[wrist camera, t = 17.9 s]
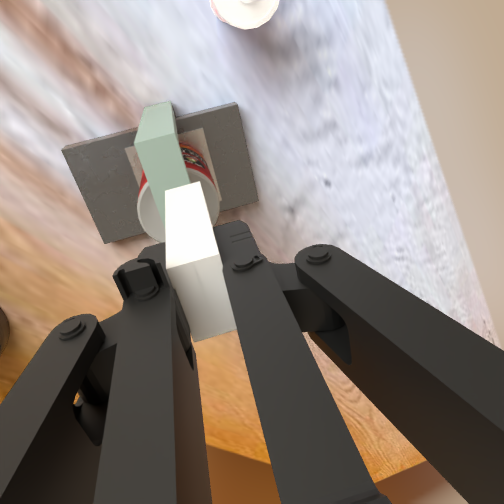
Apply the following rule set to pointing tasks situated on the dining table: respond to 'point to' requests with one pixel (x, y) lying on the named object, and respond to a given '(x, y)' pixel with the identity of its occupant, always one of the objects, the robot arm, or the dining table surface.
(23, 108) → the dining table surface
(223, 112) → the plate
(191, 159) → the canned food
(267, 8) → the beverage cup
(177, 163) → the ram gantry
